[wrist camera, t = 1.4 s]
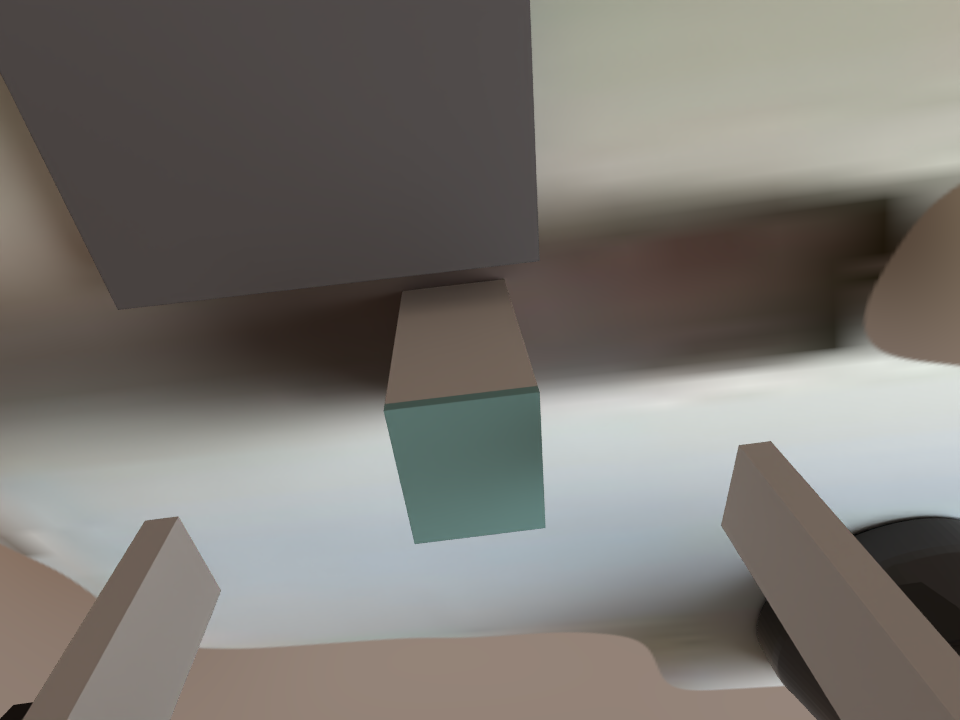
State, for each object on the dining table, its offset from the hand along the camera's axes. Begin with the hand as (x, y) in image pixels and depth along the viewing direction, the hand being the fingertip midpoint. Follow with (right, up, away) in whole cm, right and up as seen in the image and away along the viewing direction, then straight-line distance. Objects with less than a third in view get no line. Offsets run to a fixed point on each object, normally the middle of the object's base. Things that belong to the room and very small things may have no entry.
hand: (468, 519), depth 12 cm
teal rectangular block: (-1, +5, +9) cm, 10 cm away
